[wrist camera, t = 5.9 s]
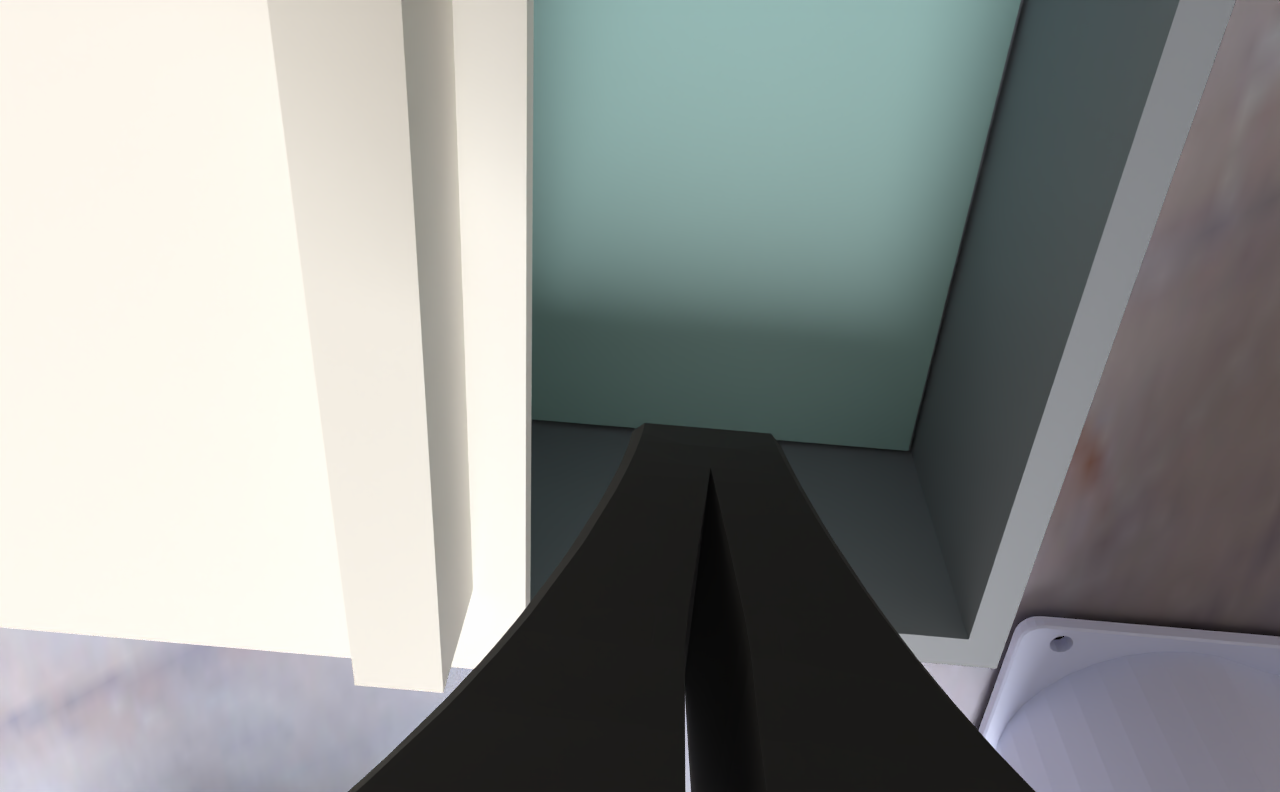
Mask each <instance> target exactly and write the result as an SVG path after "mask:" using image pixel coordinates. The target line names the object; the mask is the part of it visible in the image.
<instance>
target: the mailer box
mask: <svg viewBox="0 0 1280 792" xmlns="http://www.w3.org/2000/svg"><path fill="white" fill-rule="evenodd" d="M1235 2H1236V0H534V52H533V225H532V398H531V572H530V602H531V600H532V599H533V598H534V596H535V595H536V594H537V592H538V591H539V590H540V589H541V587H542V586H543V585H544V583H545V582H546V581H547V579H548V578H549V577H550V575H551V574H552V573H553V571H554V570H555V569H556V567H557V566H558V565H559V563H560V562H561V561H562V559H563V558H564V556H565V555H566V554H567V552H568V551H569V549H570V548H571V546H572V545H573V543H574V541H575V540H576V538H577V537H578V535H579V534H580V532H581V531H582V529H583V527H584V526H585V524H586V523H587V521H588V520H589V518H590V517H591V515H592V513H593V512H594V510H595V509H596V507H597V506H598V504H599V502H600V501H601V499H602V497H603V495H604V493H605V492H606V490H607V488H608V486H609V484H610V483H611V481H612V479H613V477H614V475H615V473H616V471H617V469H618V467H619V465H620V463H621V461H622V459H623V456H624V454H625V452H626V449H627V447H628V444H629V441H630V437H631V434H632V431H634V430H635V429H637V428H638V427H639V426H641V425H642V424H644V423H653V424H665V425H676V426H688V427H700V428H712V429H724V430H736V431H748V432H759V433H771V434H772V435H773V437H774V438H775V439H776V440H777V441H778V443H779V444H780V445H781V447H782V449H783V451H784V453H785V455H786V457H787V459H788V461H789V463H790V465H791V467H792V469H793V471H794V473H795V475H796V477H797V479H798V480H799V482H800V484H801V486H802V488H803V489H804V491H805V493H806V495H807V497H808V498H809V500H810V502H811V503H812V505H813V507H814V509H815V510H816V512H817V514H818V515H819V517H820V519H821V521H822V522H823V524H824V525H825V527H826V529H827V530H828V532H829V534H830V535H831V537H832V538H833V540H834V542H835V543H836V545H837V546H838V548H839V549H840V551H841V552H842V554H843V555H844V557H845V558H846V560H847V561H848V563H849V564H850V566H851V567H852V569H853V570H854V572H855V573H856V575H857V576H858V578H859V579H860V581H861V582H862V584H863V585H864V587H865V588H866V590H867V591H868V593H869V594H870V596H871V597H872V598H873V600H874V601H875V603H876V604H877V605H878V607H879V608H880V610H881V611H882V612H883V614H884V615H885V617H886V618H887V619H888V621H889V622H890V623H891V625H892V626H893V627H894V628H895V630H896V631H897V632H898V634H899V635H900V636H901V638H902V639H903V640H904V642H905V643H906V644H907V646H908V647H909V648H910V650H911V651H912V652H913V653H914V655H915V656H916V657H917V659H918V660H919V661H920V662H924V663H936V664H947V665H959V666H970V667H982V668H993V669H997V666H998V663H999V660H1000V658H1001V655H1002V652H1003V649H1004V646H1005V644H1006V641H1007V638H1008V635H1009V633H1010V630H1011V627H1012V624H1013V621H1014V619H1015V616H1016V613H1017V610H1018V607H1019V605H1020V602H1021V599H1022V596H1023V593H1024V591H1025V588H1026V585H1027V582H1028V579H1029V577H1030V574H1031V571H1032V568H1033V566H1034V563H1035V560H1036V557H1037V554H1038V552H1039V549H1040V546H1041V543H1042V540H1043V538H1044V535H1045V532H1046V529H1047V526H1048V524H1049V521H1050V518H1051V515H1052V513H1053V510H1054V507H1055V504H1056V501H1057V499H1058V496H1059V493H1060V490H1061V487H1062V485H1063V482H1064V479H1065V476H1066V473H1067V471H1068V468H1069V465H1070V462H1071V460H1072V457H1073V454H1074V451H1075V448H1076V446H1077V443H1078V440H1079V437H1080V434H1081V432H1082V429H1083V426H1084V423H1085V420H1086V418H1087V415H1088V412H1089V409H1090V407H1091V404H1092V401H1093V398H1094V395H1095V393H1096V390H1097V387H1098V384H1099V381H1100V379H1101V376H1102V373H1103V370H1104V367H1105V365H1106V362H1107V359H1108V356H1109V354H1110V351H1111V348H1112V345H1113V342H1114V340H1115V337H1116V334H1117V331H1118V328H1119V326H1120V323H1121V320H1122V317H1123V314H1124V312H1125V309H1126V306H1127V303H1128V301H1129V298H1130V295H1131V292H1132V289H1133V287H1134V284H1135V281H1136V278H1137V275H1138V273H1139V270H1140V267H1141V264H1142V261H1143V259H1144V256H1145V253H1146V250H1147V247H1148V245H1149V242H1150V239H1151V236H1152V234H1153V231H1154V228H1155V225H1156V222H1157V220H1158V217H1159V214H1160V211H1161V208H1162V206H1163V203H1164V200H1165V197H1166V194H1167V192H1168V189H1169V186H1170V183H1171V181H1172V178H1173V175H1174V172H1175V169H1176V167H1177V164H1178V161H1179V158H1180V155H1181V153H1182V150H1183V147H1184V144H1185V141H1186V139H1187V136H1188V133H1189V130H1190V128H1191V125H1192V122H1193V119H1194V116H1195V114H1196V111H1197V108H1198V105H1199V102H1200V100H1201V97H1202V94H1203V91H1204V88H1205V86H1206V83H1207V80H1208V77H1209V75H1210V72H1211V69H1212V66H1213V63H1214V61H1215V58H1216V55H1217V52H1218V49H1219V47H1220V44H1221V41H1222V38H1223V35H1224V33H1225V30H1226V27H1227V24H1228V22H1229V19H1230V16H1231V13H1232V10H1233V8H1234V5H1235Z"/></svg>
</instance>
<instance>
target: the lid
mask: <svg viewBox="0 0 1280 792" xmlns="http://www.w3.org/2000/svg"><path fill="white" fill-rule="evenodd" d="M533 52H534V0H0V627H1V628H13V629H24V630H36V631H47V632H58V633H70V634H81V635H93V636H104V637H115V638H127V639H138V640H150V641H161V642H172V643H184V644H195V645H207V646H218V647H229V648H241V649H252V650H264V651H275V652H286V653H298V654H309V655H321V656H332V657H343V658H351V659H352V667H353V675H354V683H355V685H358V686H370V687H381V688H392V689H404V690H415V691H426V692H438V693H443V692H444V689H445V685H446V682H447V679H448V675H449V672H450V668H451V667H457V668H469V669H474V668H475V667H476V666H477V665H478V664H479V663H480V662H481V661H482V660H483V658H484V657H485V656H486V655H487V654H488V653H489V652H490V650H491V649H492V648H493V647H494V646H495V645H496V644H497V642H498V641H499V640H500V639H501V638H502V637H503V635H504V634H505V633H506V632H507V631H508V629H509V628H510V627H511V626H512V625H513V623H514V622H515V621H516V620H517V619H518V617H519V616H520V615H521V614H522V612H523V611H524V610H525V608H526V607H527V606H528V604H529V603H530V572H531V398H532V225H533Z"/></svg>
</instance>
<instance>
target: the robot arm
mask: <svg viewBox="0 0 1280 792" xmlns="http://www.w3.org/2000/svg"><path fill="white" fill-rule="evenodd" d="M1059 636H1065V637H1063V638H1061V639H1057V640H1053V639H1054V638H1056V637H1059ZM685 701H686V717H687V734H688V750H689V765H690V781H691V792H1280V637H1278V636H1267V635H1255V634H1244V633H1232V632H1220V631H1209V630H1197V629H1185V628H1174V627H1162V626H1151V625H1139V624H1127V623H1116V622H1104V621H1093V620H1081V619H1069V618H1058V617H1046V616H1034V617H1030V618H1027V619H1025V620H1023V621H1022V622H1021V623H1019V624H1018V626H1017V627H1016V629H1015V631H1014V633H1013V636H1012V639H1011V642H1010V645H1009V647H1008V650H1007V653H1006V656H1005V658H1004V661H1003V664H1002V667H1001V669H1000V672H999V675H998V678H997V680H996V683H995V686H994V689H993V692H992V694H991V697H990V700H989V703H988V705H987V708H986V711H985V714H984V716H983V719H982V722H981V725H980V727H979V730H977V729H976V727H975V726H974V725H973V724H972V723H971V722H970V721H969V720H968V718H967V717H966V716H965V715H964V714H963V713H962V712H961V711H960V710H959V708H958V707H957V706H956V705H955V704H954V703H953V701H952V700H951V699H950V698H949V697H948V695H947V694H946V693H945V692H944V691H943V689H942V688H941V687H940V686H939V685H938V684H937V682H936V681H935V680H934V679H933V677H932V676H931V675H930V674H929V672H928V671H927V670H926V669H925V667H924V666H923V665H922V664H921V662H920V661H919V660H918V659H917V657H916V656H915V655H914V653H913V652H912V651H911V650H910V648H909V647H908V646H907V644H906V643H905V642H904V640H903V639H902V638H901V636H900V635H899V634H898V632H897V631H896V630H895V628H894V627H893V626H892V625H891V623H890V622H889V621H888V619H887V618H886V617H885V615H884V614H883V612H882V611H881V610H880V608H879V607H878V605H877V604H876V603H875V601H874V600H873V598H872V597H871V596H870V594H869V593H868V591H867V590H866V588H865V587H864V585H863V584H862V582H861V581H860V579H859V578H858V576H857V575H856V573H855V572H854V570H853V569H852V567H851V566H850V564H849V563H848V561H847V560H846V558H845V557H844V555H843V554H842V552H841V551H840V549H839V548H838V546H837V545H836V543H835V542H834V540H833V538H832V537H831V535H830V534H829V532H828V530H827V529H826V527H825V525H824V524H823V522H822V521H821V519H820V517H819V515H818V514H817V512H816V510H815V509H814V507H813V505H812V503H811V502H810V500H809V498H808V497H807V495H806V493H805V491H804V489H803V488H802V486H801V484H800V482H799V480H798V479H797V477H796V475H795V473H794V471H793V469H792V467H791V465H790V463H789V461H788V459H787V457H786V455H785V453H784V451H783V449H782V447H781V445H780V444H779V443H778V441H777V440H776V439H775V438H774V437H773V435H772V434H771V433H759V432H748V431H736V430H724V429H712V428H700V427H688V426H676V425H665V424H653V423H644V424H642V425H641V426H639V427H638V428H637V429H635V430H634V431H632V434H631V437H630V441H629V444H628V447H627V449H626V452H625V454H624V456H623V459H622V461H621V463H620V465H619V467H618V469H617V471H616V473H615V475H614V477H613V479H612V481H611V483H610V484H609V486H608V488H607V490H606V492H605V493H604V495H603V497H602V499H601V501H600V502H599V504H598V506H597V507H596V509H595V510H594V512H593V513H592V515H591V517H590V518H589V520H588V521H587V523H586V524H585V526H584V527H583V529H582V531H581V532H580V534H579V535H578V537H577V538H576V540H575V541H574V543H573V545H572V546H571V548H570V549H569V551H568V552H567V554H566V555H565V556H564V558H563V559H562V561H561V562H560V563H559V565H558V566H557V567H556V569H555V570H554V571H553V573H552V574H551V575H550V577H549V578H548V579H547V581H546V582H545V583H544V585H543V586H542V587H541V589H540V590H539V591H538V592H537V594H536V595H535V596H534V598H533V599H532V600H531V602H530V603H529V604H528V606H527V607H526V608H525V610H524V611H523V612H522V614H521V615H520V616H519V617H518V619H517V620H516V621H515V622H514V623H513V625H512V626H511V627H510V628H509V629H508V631H507V632H506V633H505V634H504V635H503V637H502V638H501V639H500V640H499V641H498V642H497V644H496V645H495V646H494V647H493V648H492V649H491V650H490V652H489V653H488V654H487V655H486V656H485V657H484V658H483V660H482V661H481V662H480V663H479V664H478V665H477V666H476V667H475V668H474V669H473V670H472V672H471V673H470V674H469V675H468V676H467V677H466V678H465V679H464V680H463V681H462V682H461V683H460V685H459V686H458V687H457V688H456V689H455V690H454V691H453V692H452V693H451V694H450V695H449V696H448V697H447V698H446V699H445V700H444V701H443V702H442V703H441V704H440V705H439V706H438V707H437V708H436V709H435V710H434V711H433V712H432V713H431V714H430V715H429V716H428V717H427V718H426V719H425V720H424V721H423V722H422V723H421V724H420V725H419V726H418V727H417V728H416V729H415V730H414V731H413V732H412V733H411V734H410V735H409V736H408V737H407V738H406V739H405V740H404V741H402V742H401V743H400V744H399V745H398V746H397V747H396V748H395V749H394V750H393V751H392V752H391V753H390V754H389V755H388V756H387V757H386V758H385V759H384V760H383V761H381V762H380V763H379V764H378V765H377V766H376V767H375V768H374V769H373V770H372V771H371V772H369V773H368V774H367V775H366V776H365V777H364V778H363V779H362V780H361V781H359V782H358V783H357V784H356V785H355V786H354V787H353V788H352V789H350V790H349V791H348V792H685Z"/></svg>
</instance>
